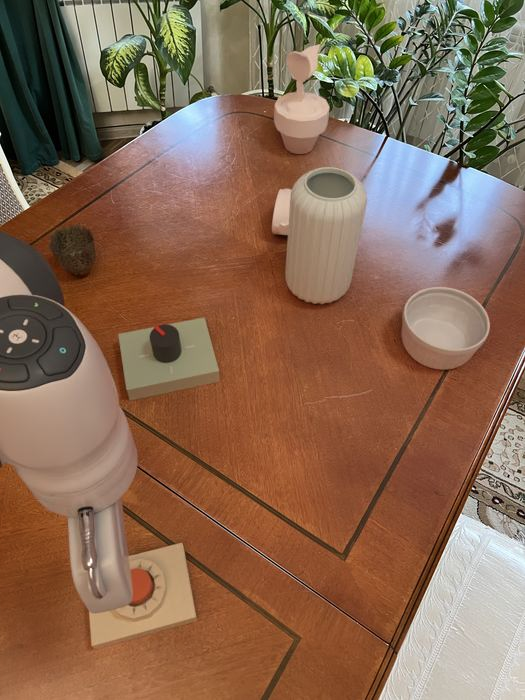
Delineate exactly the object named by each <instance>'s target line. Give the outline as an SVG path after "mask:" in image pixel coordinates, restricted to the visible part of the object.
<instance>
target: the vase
mask: <svg viewBox="0 0 525 700" xmlns="http://www.w3.org/2000/svg"><path fill="white" fill-rule="evenodd" d="M367 196H368V195H367V191H366V188H365V187H364V185H363V183H362V182H361V181H360V180H359V179H358V178H357V177H356V176H355V175H353V174H352V173H350V172H349V171H347V170H345V169H342V168H339V167H332V166H323V167H318V168H315V169H313V170H309V171H307V172H306V173H304V174H302V175H301V176H300V177H299V178H298V179H297V180H296V181H295V182H294V184H293V186H292V191H291V197H290V212H289V227H288V235H287V243H286V259H285V272H284V273H285V275H284V277H285V283H286V285H287V287H288V289H289V291H291V293H292V295H294V296H296V297H297V298H298V299H299V300H301V301H304V302H305V303H311V304H313V305H316V304H319V305H324V304H331V303H333V302H335V301H338V300H339V299H340V298H341V297H343V296H345V295H346V293H347V291H349V289H350V287H351V283H352V280H353V275H354V274H353V273H354V269H355V263H356V261H357V260H356V258H357V255H358V251H359V250H358V249H359V245H360V239H361V234H362V230H363V224H364V218H365V214H366V209H367V203H368V197H367Z"/></svg>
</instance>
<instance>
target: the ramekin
mask: <svg viewBox="0 0 525 700" xmlns="http://www.w3.org/2000/svg"><path fill="white" fill-rule="evenodd" d="M401 319H402V324H401V342H402V345H403V347H404V348H405V351H406V352H407V354H408V355H409V356H410V357H411V358H412V359H413V360H414V361H416V362H417V363H418V364H420V365H422V366H424V367H427V368H429V369H434V370H442V371H443V370H446V371H447V370H452V369H456V368H459V367H462V366H464V364H466V363H467V362H468V361H469V360H470V359H472V357H473V355H474V354H475V353H476V352H477V351H478V349H480V348H481V347H482V346H483V345H484V344H485V342H486V340H487V338H488V336H489V334H490V328H491V323H490V318H489V315H488V313H487V311H486V309H485V308H484V307H483V305H482V304H481V303H480V302H479V301H478V300H477V299H476V298H474V297H473V296H472V295H470V294H468V293H466V292H464V291H462V290H460V289H456V288H452V287H446V286H432V287H431V286H430V287H427V288H423V289H419V290H418V291H416V292H415V293H413V294H412V295H411V296H409V298H408V299H407V300H406V302H405V304H404V306H403V309H402V314H401Z"/></svg>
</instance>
